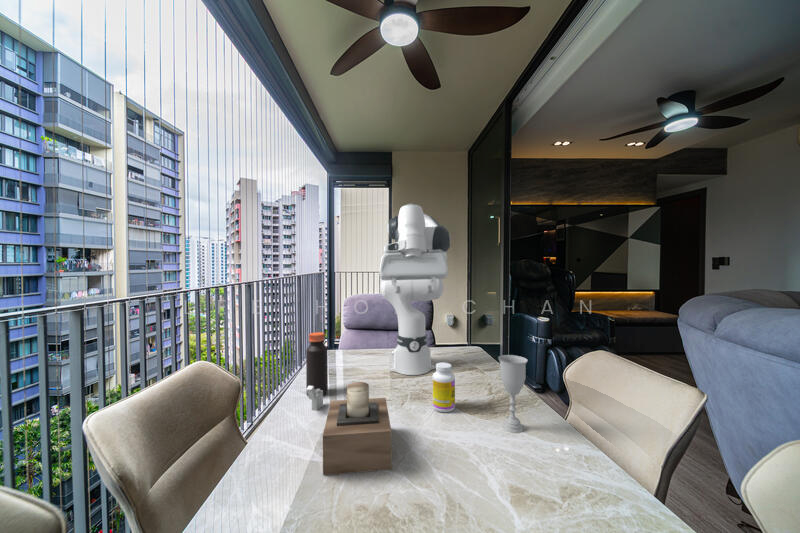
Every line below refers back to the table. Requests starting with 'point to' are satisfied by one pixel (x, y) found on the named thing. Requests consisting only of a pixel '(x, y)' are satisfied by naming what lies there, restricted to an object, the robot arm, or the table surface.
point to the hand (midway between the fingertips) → (414, 292)
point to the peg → (357, 400)
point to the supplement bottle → (443, 388)
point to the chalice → (512, 386)
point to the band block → (357, 439)
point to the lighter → (315, 397)
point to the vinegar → (317, 363)
